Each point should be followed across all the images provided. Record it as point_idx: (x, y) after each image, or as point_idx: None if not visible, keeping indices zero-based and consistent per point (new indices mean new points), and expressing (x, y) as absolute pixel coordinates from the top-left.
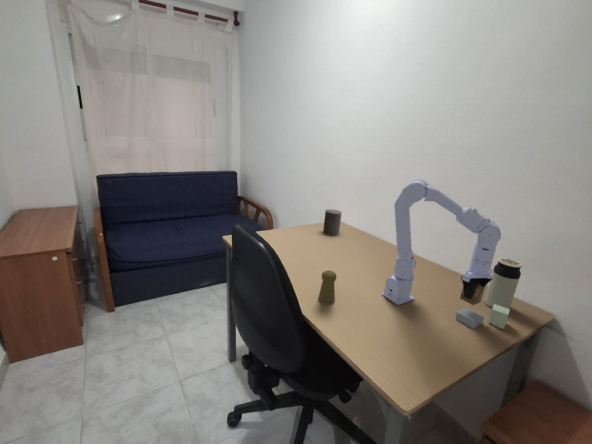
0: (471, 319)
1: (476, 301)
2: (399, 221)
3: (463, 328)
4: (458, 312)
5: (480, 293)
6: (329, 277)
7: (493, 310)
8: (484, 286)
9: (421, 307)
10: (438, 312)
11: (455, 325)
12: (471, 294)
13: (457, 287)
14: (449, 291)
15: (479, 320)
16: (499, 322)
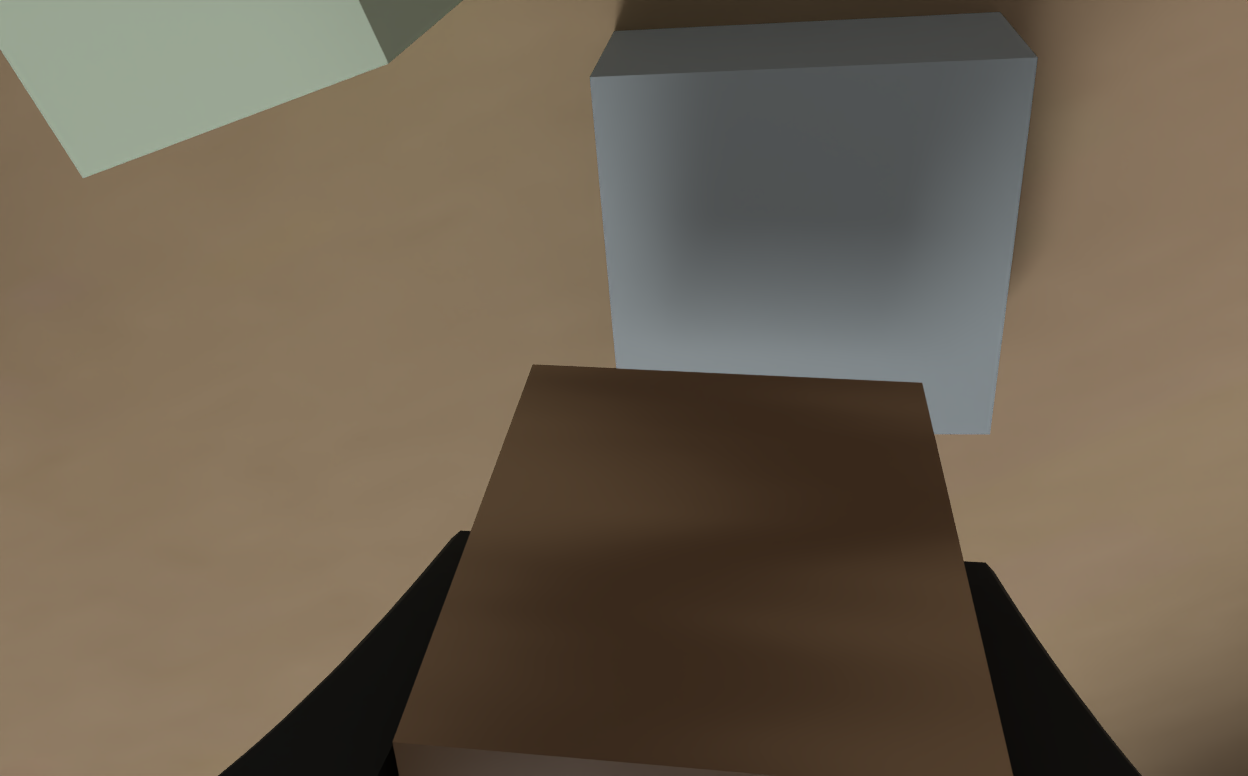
0: (1013, 152)
1: (795, 425)
2: None
3: (1170, 118)
4: (978, 414)
5: (650, 590)
6: None
7: (380, 20)
8: (318, 770)
9: (1126, 734)
10: (1027, 565)
11: (1197, 244)
12: (1068, 702)
13: (46, 725)
14: (268, 732)
15: (805, 56)
16: None
